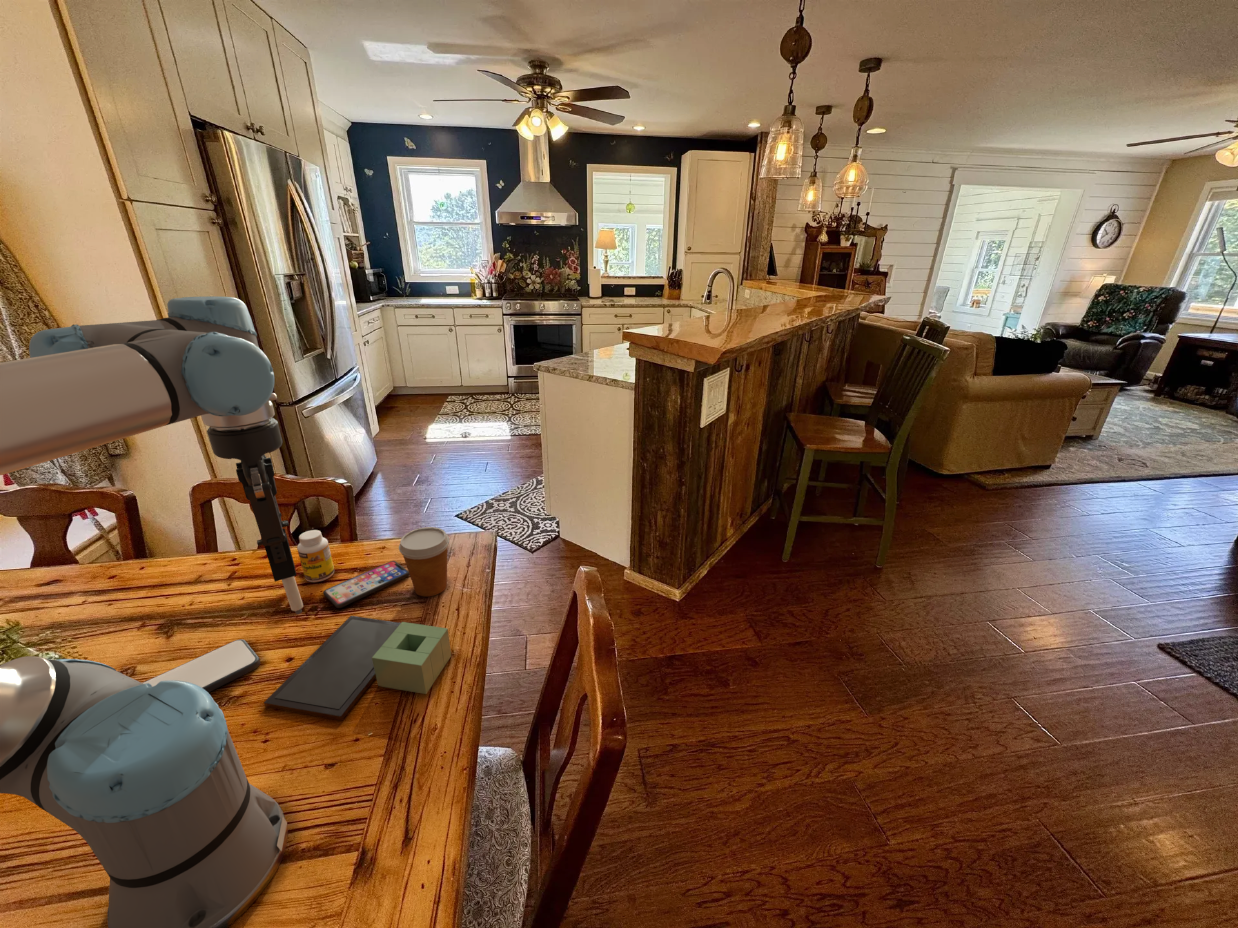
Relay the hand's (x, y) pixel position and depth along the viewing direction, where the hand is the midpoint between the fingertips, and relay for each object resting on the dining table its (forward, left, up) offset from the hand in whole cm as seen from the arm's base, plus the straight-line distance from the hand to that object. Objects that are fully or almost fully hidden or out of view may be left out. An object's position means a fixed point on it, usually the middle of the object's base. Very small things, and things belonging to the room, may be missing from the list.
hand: (284, 573), depth 73 cm
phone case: (-5, +17, -20) cm, 27 cm away
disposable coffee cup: (+25, -7, -20) cm, 33 cm away
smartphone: (+23, +6, -20) cm, 31 cm away
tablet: (+3, -4, -20) cm, 21 cm away
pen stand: (+4, -16, -20) cm, 26 cm away
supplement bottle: (+24, +18, -20) cm, 36 cm away
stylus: (0, 0, -7) cm, 7 cm away
